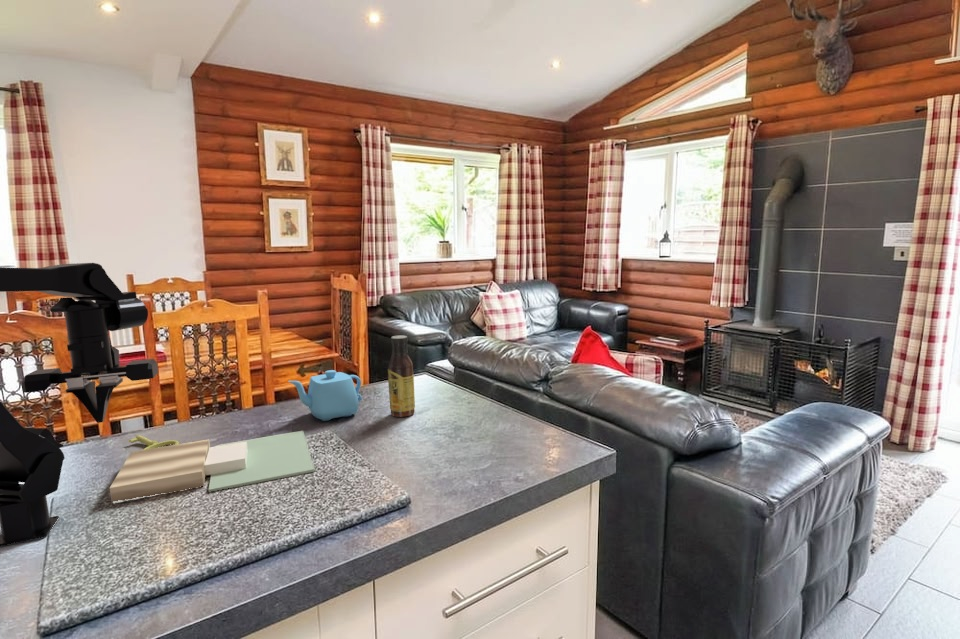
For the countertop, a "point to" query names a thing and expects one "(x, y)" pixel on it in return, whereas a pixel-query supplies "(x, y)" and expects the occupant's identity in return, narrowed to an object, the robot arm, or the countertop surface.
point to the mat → (268, 461)
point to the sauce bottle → (401, 379)
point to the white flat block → (226, 458)
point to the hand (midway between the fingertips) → (100, 421)
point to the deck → (161, 470)
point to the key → (152, 442)
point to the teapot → (331, 395)
